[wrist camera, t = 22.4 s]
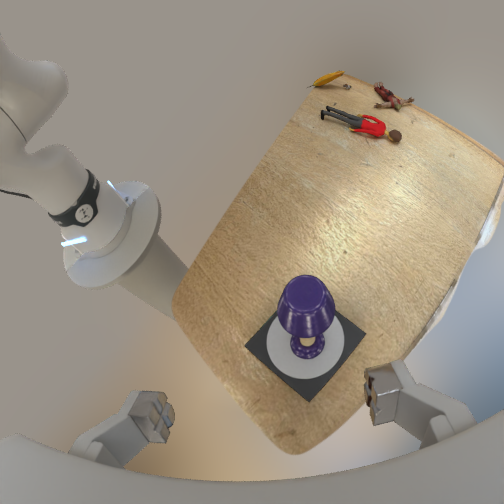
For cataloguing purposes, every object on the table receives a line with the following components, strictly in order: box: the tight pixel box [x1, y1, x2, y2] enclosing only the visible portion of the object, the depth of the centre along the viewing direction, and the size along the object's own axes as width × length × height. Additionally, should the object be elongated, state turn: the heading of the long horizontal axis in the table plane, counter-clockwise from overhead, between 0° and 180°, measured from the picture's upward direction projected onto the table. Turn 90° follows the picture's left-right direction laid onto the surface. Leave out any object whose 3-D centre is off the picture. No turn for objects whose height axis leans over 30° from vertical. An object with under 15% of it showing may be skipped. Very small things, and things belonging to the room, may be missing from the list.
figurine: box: [374, 82, 414, 109], centre depth 56 cm, size 12×3×11 cm
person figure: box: [321, 106, 402, 142], centre depth 53 cm, size 5×4×18 cm
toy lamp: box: [277, 275, 335, 359], centre depth 26 cm, size 5×5×17 cm
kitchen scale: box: [245, 310, 366, 402], centre depth 35 cm, size 11×11×4 cm
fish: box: [310, 71, 345, 87], centre depth 61 cm, size 12×2×5 cm
